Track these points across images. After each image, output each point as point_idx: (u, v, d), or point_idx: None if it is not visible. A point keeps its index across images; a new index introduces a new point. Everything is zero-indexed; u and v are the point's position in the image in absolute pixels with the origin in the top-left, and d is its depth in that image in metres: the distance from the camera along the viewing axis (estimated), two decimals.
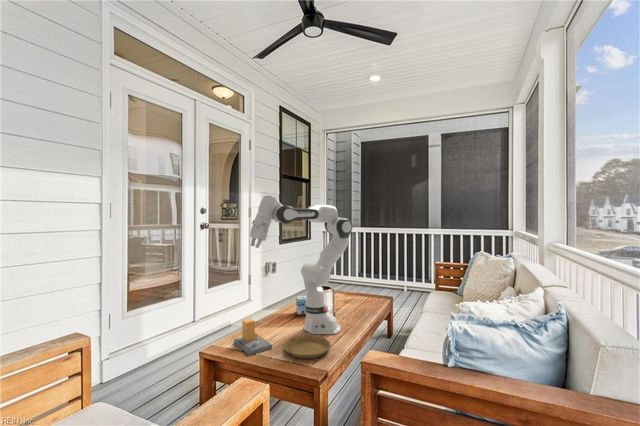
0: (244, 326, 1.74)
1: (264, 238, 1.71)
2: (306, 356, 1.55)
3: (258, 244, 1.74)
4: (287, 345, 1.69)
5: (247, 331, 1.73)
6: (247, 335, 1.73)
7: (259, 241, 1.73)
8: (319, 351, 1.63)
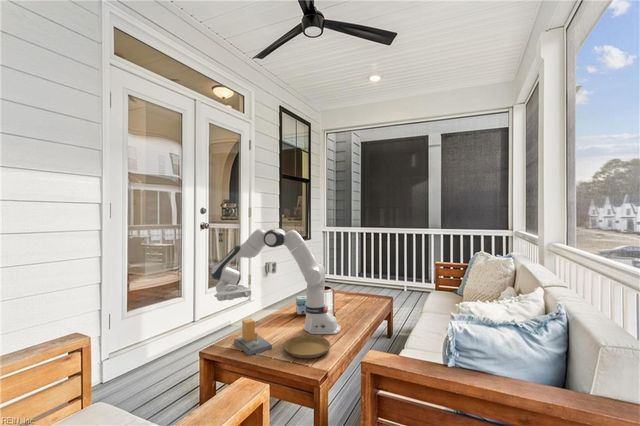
0: (244, 326, 1.74)
1: (218, 296, 1.84)
2: (306, 356, 1.55)
3: (228, 298, 1.83)
4: (287, 345, 1.69)
5: (247, 331, 1.73)
6: (247, 335, 1.73)
7: (226, 298, 1.84)
8: (319, 351, 1.63)
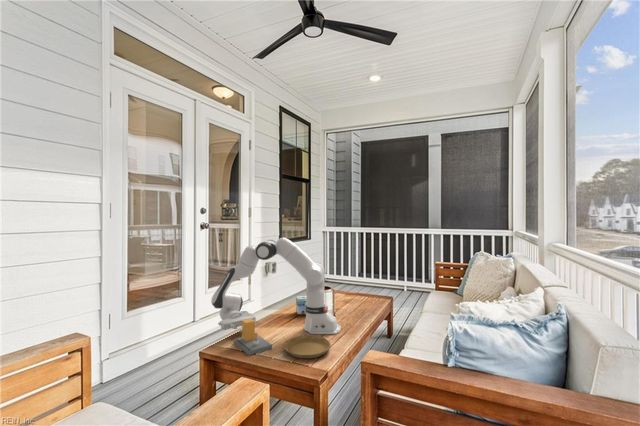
0: (244, 326, 1.74)
1: (222, 325, 1.80)
2: (306, 356, 1.55)
3: (232, 326, 1.80)
4: (287, 345, 1.69)
5: (247, 331, 1.73)
6: (247, 335, 1.73)
7: (230, 326, 1.80)
8: (319, 351, 1.63)
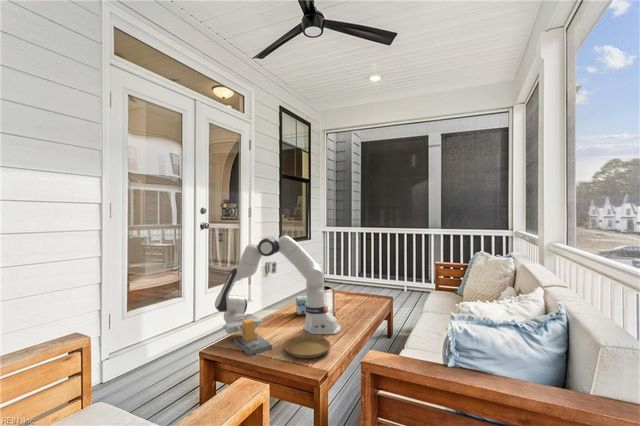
0: (244, 326, 1.74)
1: (227, 328, 1.74)
2: (306, 356, 1.55)
3: (240, 330, 1.74)
4: (287, 345, 1.69)
5: (247, 331, 1.73)
6: (247, 335, 1.73)
7: (237, 329, 1.75)
8: (319, 351, 1.63)
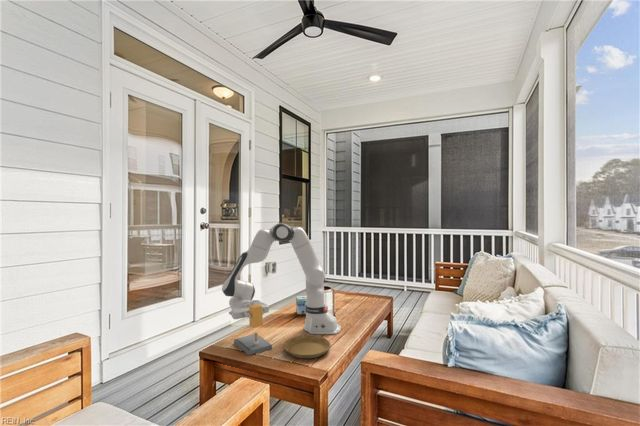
0: (251, 311, 1.66)
1: (233, 314, 1.66)
2: (306, 356, 1.55)
3: (247, 315, 1.67)
4: (287, 345, 1.69)
5: (254, 316, 1.65)
6: (255, 321, 1.65)
7: (244, 315, 1.67)
8: (319, 351, 1.63)
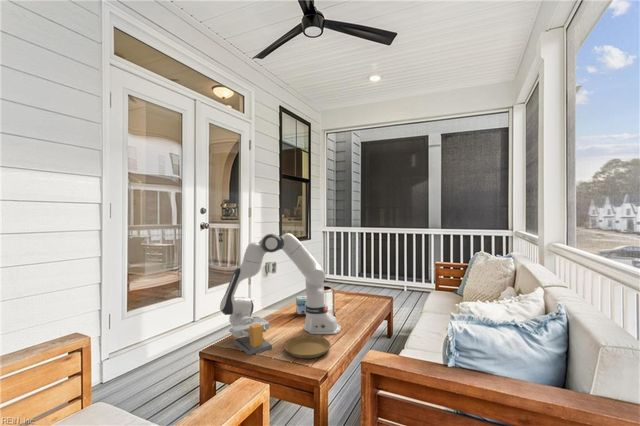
0: (252, 331, 1.66)
1: (234, 332, 1.66)
2: (306, 356, 1.55)
3: (245, 334, 1.66)
4: (287, 345, 1.69)
5: (255, 337, 1.65)
6: (255, 341, 1.65)
7: (242, 334, 1.67)
8: (319, 351, 1.63)
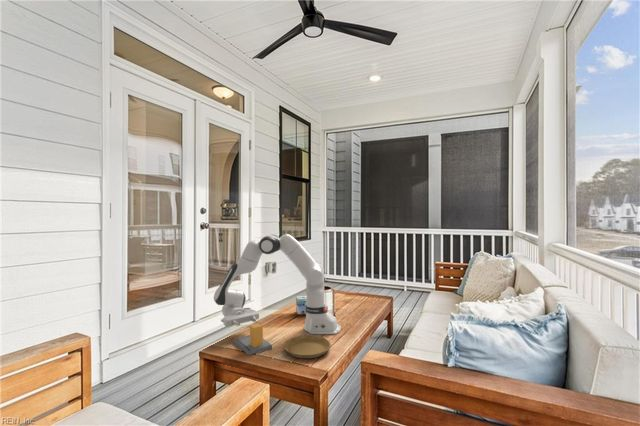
0: (252, 331, 1.66)
1: (225, 321, 1.77)
2: (306, 356, 1.55)
3: (235, 323, 1.76)
4: (287, 345, 1.69)
5: (255, 337, 1.65)
6: (255, 341, 1.65)
7: (233, 323, 1.77)
8: (319, 351, 1.63)
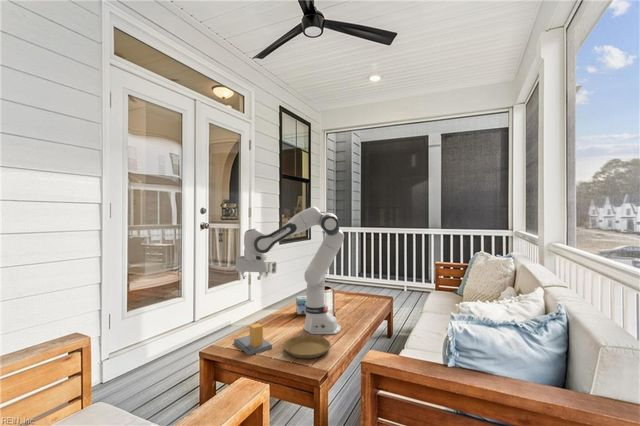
0: (252, 331, 1.66)
1: None
2: (306, 356, 1.55)
3: None
4: (287, 345, 1.69)
5: (255, 337, 1.65)
6: (255, 341, 1.65)
7: None
8: (319, 351, 1.63)
